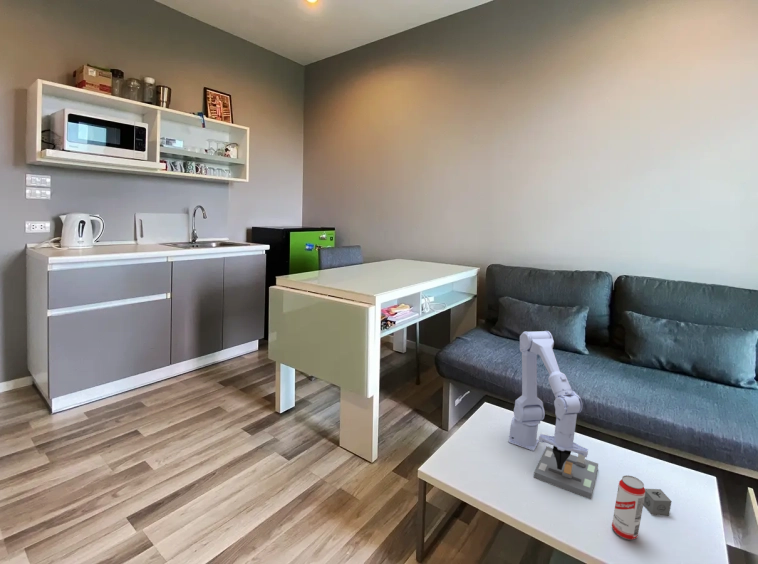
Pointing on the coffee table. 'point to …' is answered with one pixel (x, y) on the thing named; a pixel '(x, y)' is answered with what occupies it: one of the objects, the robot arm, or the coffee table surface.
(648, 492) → the dice cube
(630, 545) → the coffee table surface
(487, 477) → the coffee table surface
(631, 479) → the beer can
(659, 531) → the coffee table surface
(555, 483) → the slider lever panel
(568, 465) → the orange lever
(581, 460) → the white lever
